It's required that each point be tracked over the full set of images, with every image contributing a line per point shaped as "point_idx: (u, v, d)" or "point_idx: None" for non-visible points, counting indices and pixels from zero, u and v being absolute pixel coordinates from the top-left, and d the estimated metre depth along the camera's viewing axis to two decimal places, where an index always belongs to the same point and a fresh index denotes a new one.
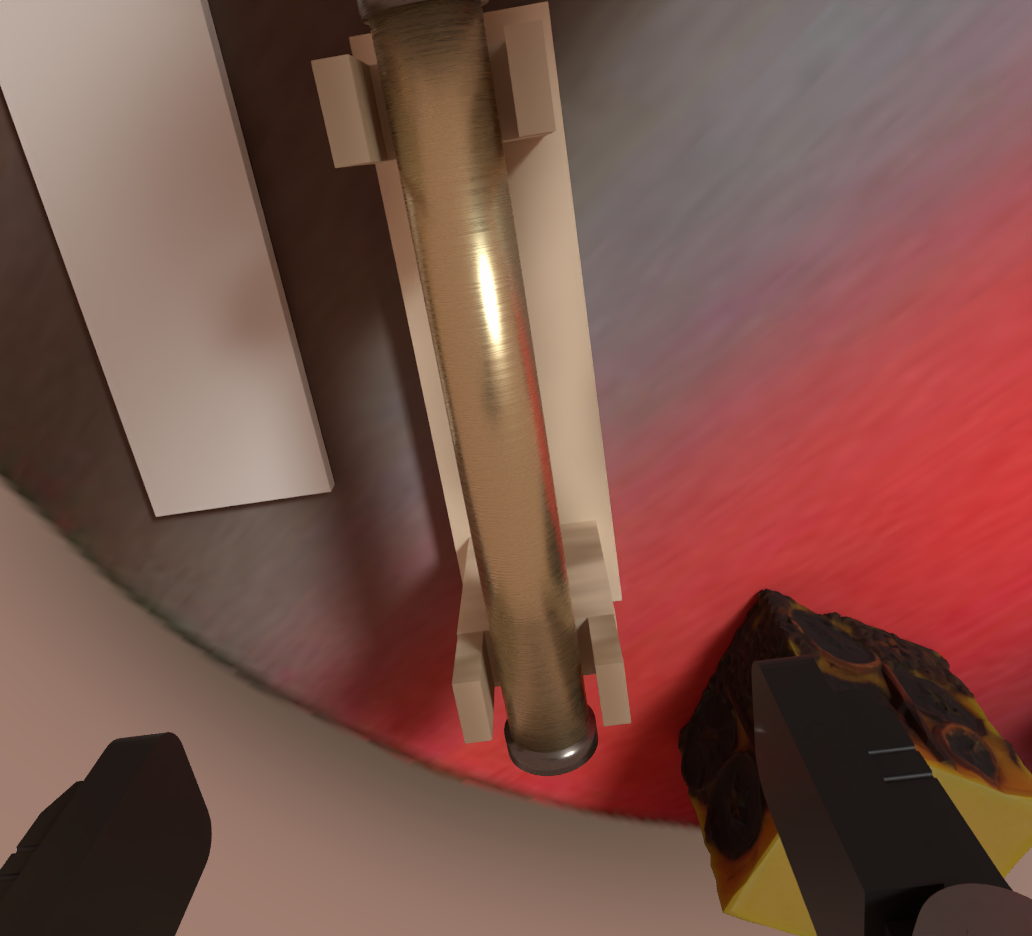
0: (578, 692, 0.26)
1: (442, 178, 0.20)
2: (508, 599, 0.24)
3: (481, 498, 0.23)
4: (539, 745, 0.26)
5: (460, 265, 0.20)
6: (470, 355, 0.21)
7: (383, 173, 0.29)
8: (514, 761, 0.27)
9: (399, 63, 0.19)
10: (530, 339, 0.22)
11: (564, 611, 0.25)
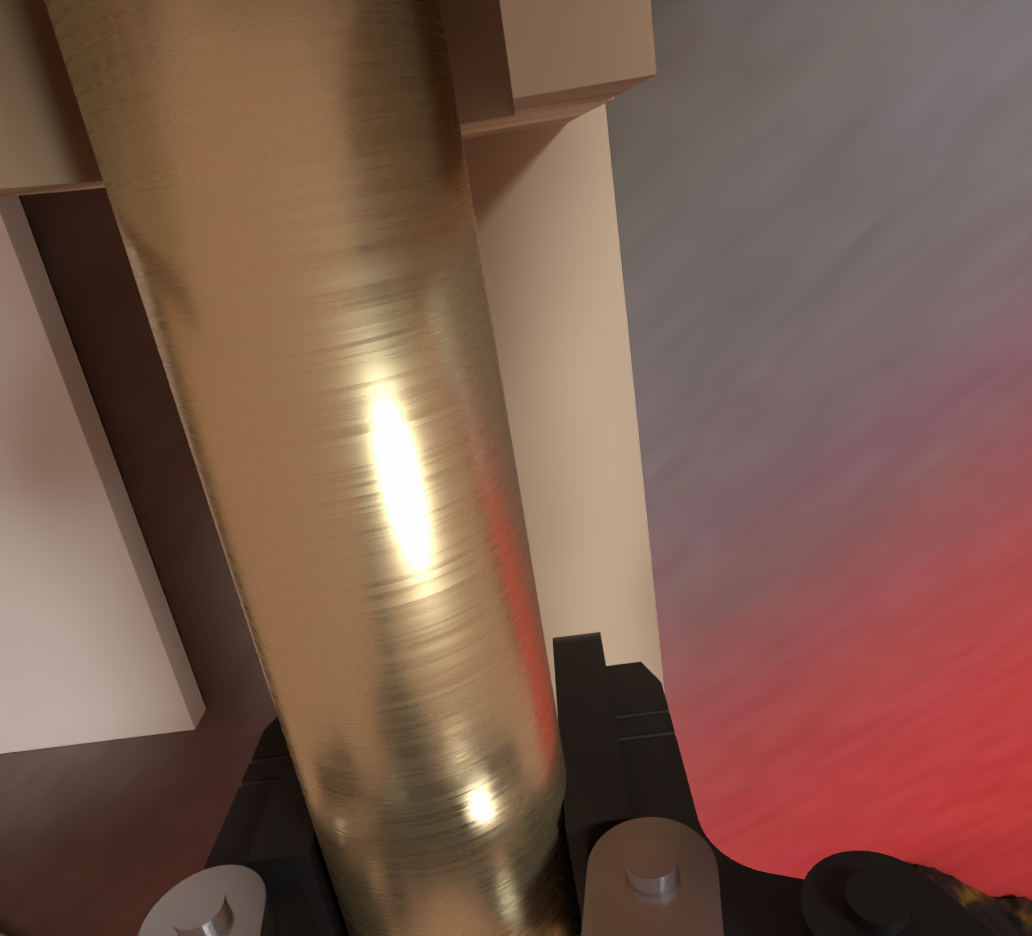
0: None
1: (232, 252, 0.05)
2: None
3: None
4: None
5: (316, 535, 0.06)
6: (365, 772, 0.07)
7: None
8: None
9: None
10: (545, 680, 0.08)
11: None
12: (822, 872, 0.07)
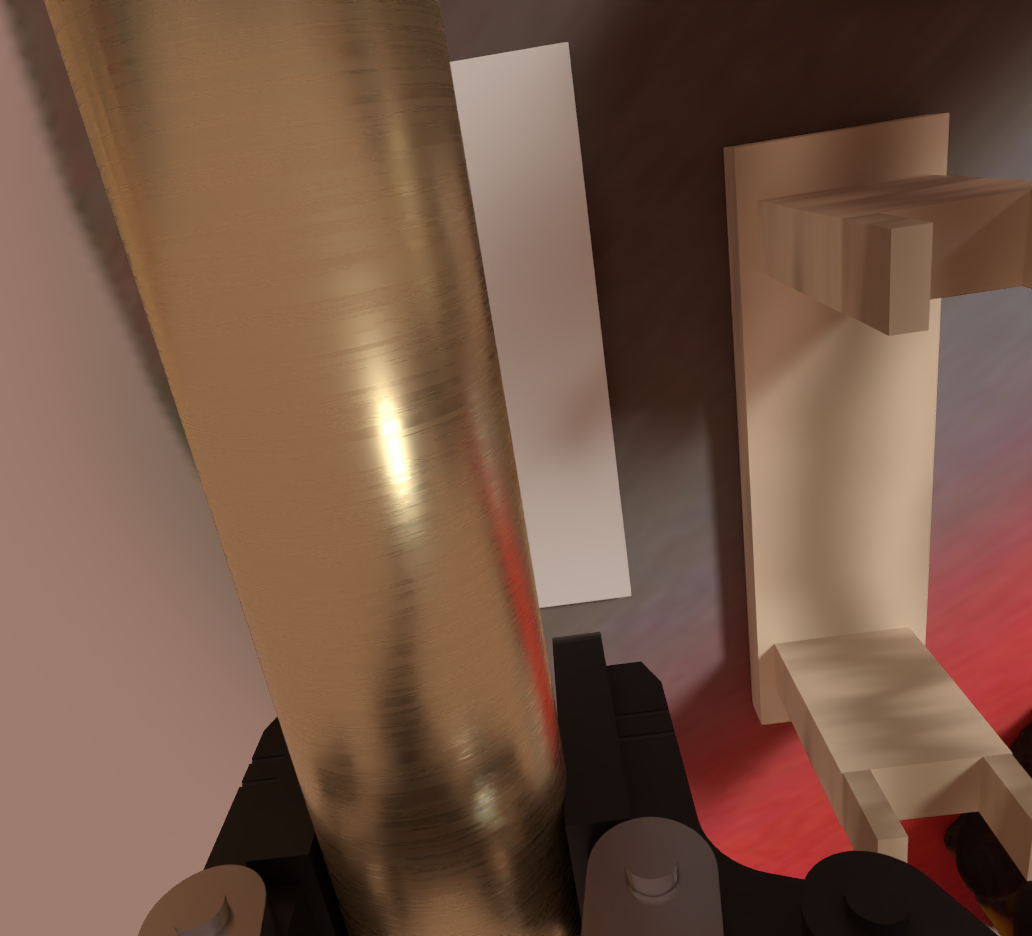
0: None
1: (232, 258, 0.05)
2: None
3: None
4: None
5: (319, 540, 0.06)
6: (366, 776, 0.07)
7: (747, 283, 0.28)
8: None
9: None
10: (545, 684, 0.08)
11: None
12: (822, 872, 0.07)
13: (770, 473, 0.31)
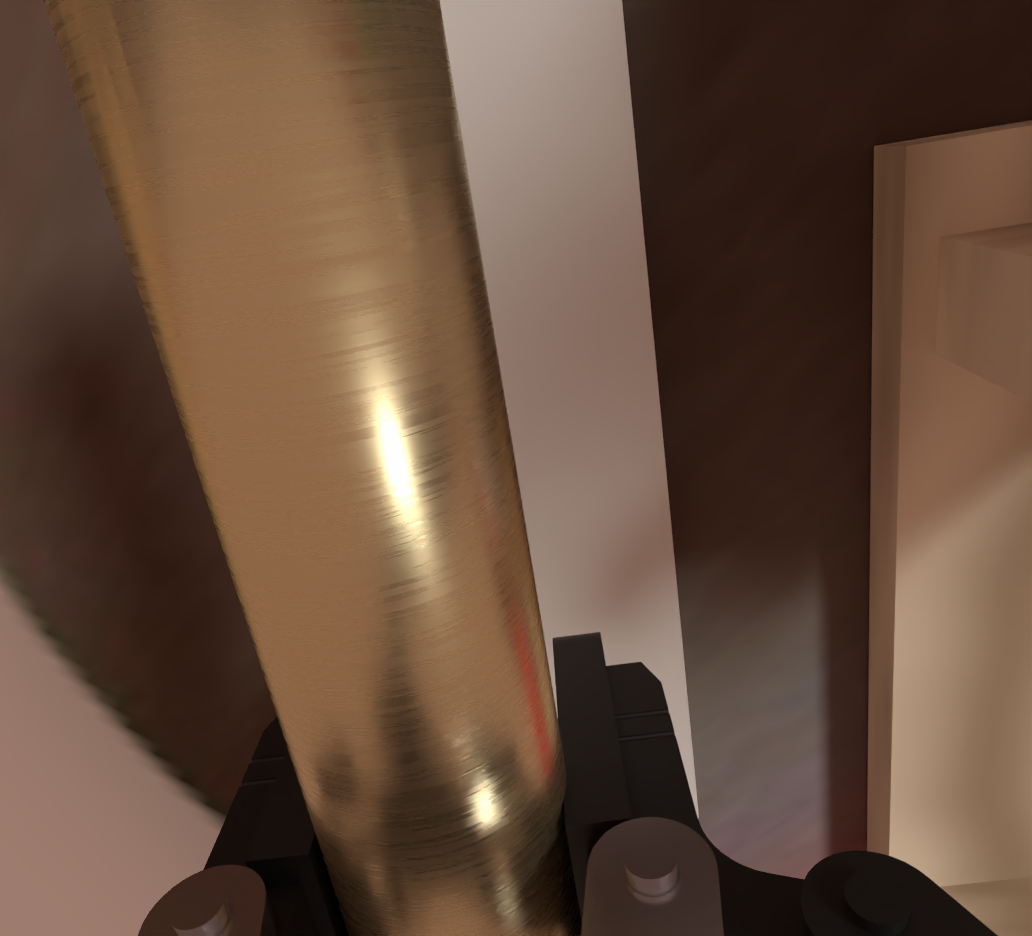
0: None
1: (232, 257, 0.05)
2: None
3: None
4: None
5: (318, 540, 0.06)
6: (366, 776, 0.07)
7: (911, 372, 0.17)
8: None
9: None
10: (545, 684, 0.08)
11: None
12: (822, 872, 0.07)
13: (926, 658, 0.20)
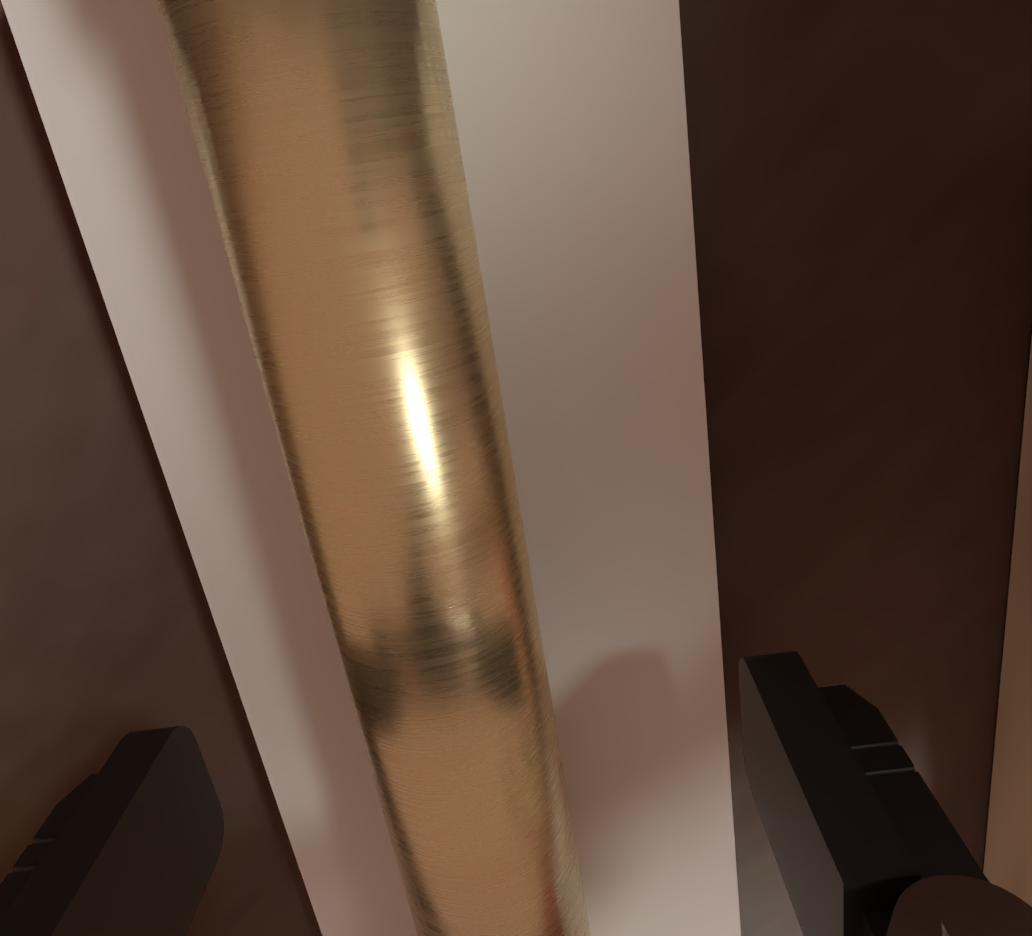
0: None
1: (275, 228, 0.08)
2: None
3: (408, 861, 0.11)
4: None
5: (331, 431, 0.09)
6: (366, 614, 0.10)
7: None
8: None
9: None
10: (516, 570, 0.10)
11: None
12: None
13: None
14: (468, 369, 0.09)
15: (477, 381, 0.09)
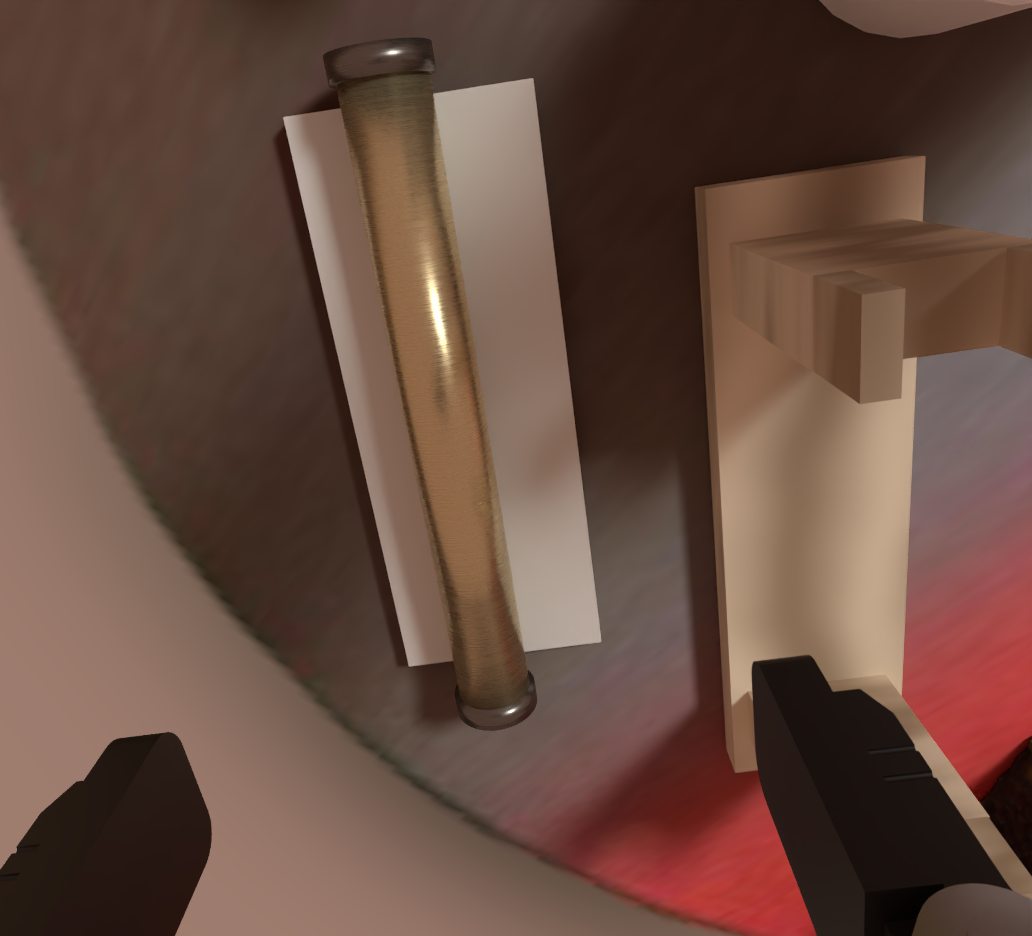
0: (508, 665, 0.30)
1: (379, 219, 0.24)
2: (442, 571, 0.29)
3: (420, 483, 0.28)
4: (470, 701, 0.31)
5: (394, 291, 0.25)
6: (405, 365, 0.26)
7: (718, 327, 0.27)
8: (458, 709, 0.32)
9: (348, 126, 0.23)
10: (465, 356, 0.26)
11: (493, 592, 0.29)
12: None
13: (743, 519, 0.30)
14: (444, 272, 0.25)
15: (448, 277, 0.25)
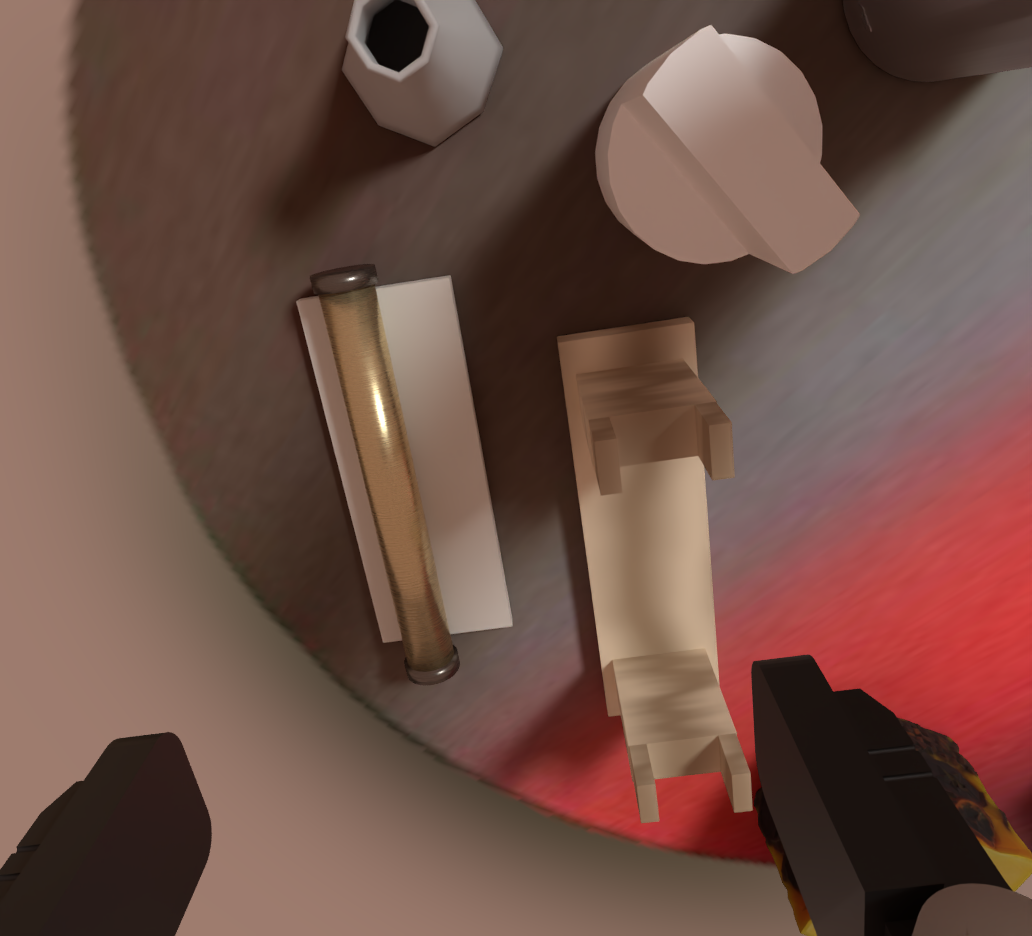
0: (428, 645, 0.45)
1: (339, 369, 0.40)
2: (387, 578, 0.45)
3: None
4: (408, 662, 0.47)
5: (349, 410, 0.41)
6: (358, 452, 0.42)
7: (573, 424, 0.43)
8: None
9: (323, 315, 0.39)
10: (393, 451, 0.41)
11: (416, 597, 0.44)
12: None
13: (599, 545, 0.45)
14: (377, 402, 0.40)
15: (380, 405, 0.40)
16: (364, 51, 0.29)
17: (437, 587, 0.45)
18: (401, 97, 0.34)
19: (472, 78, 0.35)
